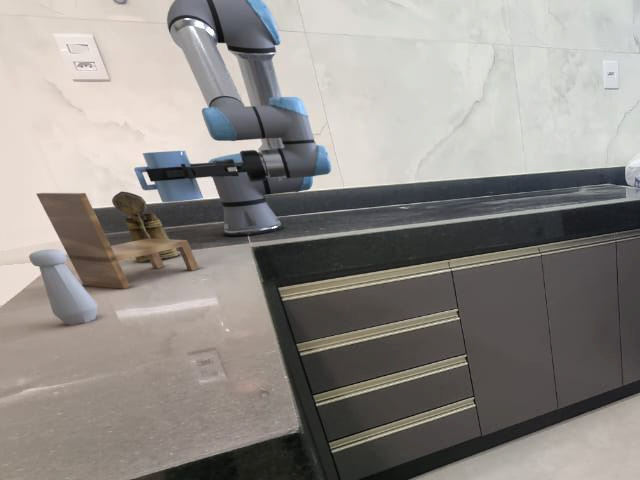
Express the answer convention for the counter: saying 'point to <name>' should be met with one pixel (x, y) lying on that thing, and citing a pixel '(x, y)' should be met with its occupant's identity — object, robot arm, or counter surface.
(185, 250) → the wooden chair
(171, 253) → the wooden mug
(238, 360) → the counter surface
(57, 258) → the salt shaker
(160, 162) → the blue cup
